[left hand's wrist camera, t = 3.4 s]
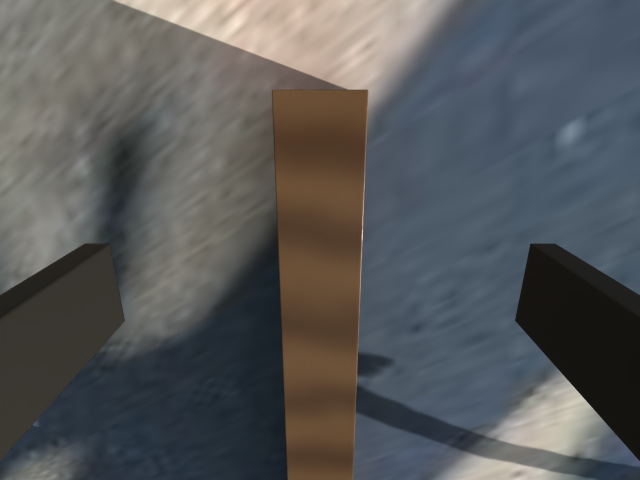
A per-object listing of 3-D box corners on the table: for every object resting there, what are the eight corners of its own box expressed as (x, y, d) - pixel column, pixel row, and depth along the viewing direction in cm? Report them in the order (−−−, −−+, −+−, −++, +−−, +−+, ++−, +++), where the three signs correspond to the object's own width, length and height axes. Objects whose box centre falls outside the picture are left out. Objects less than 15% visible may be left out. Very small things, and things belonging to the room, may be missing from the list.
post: (283, 92, 30) (271, 89, 22) (356, 92, 30) (368, 89, 22) (298, 563, 49) (294, 645, 41) (342, 562, 49) (346, 645, 41)
